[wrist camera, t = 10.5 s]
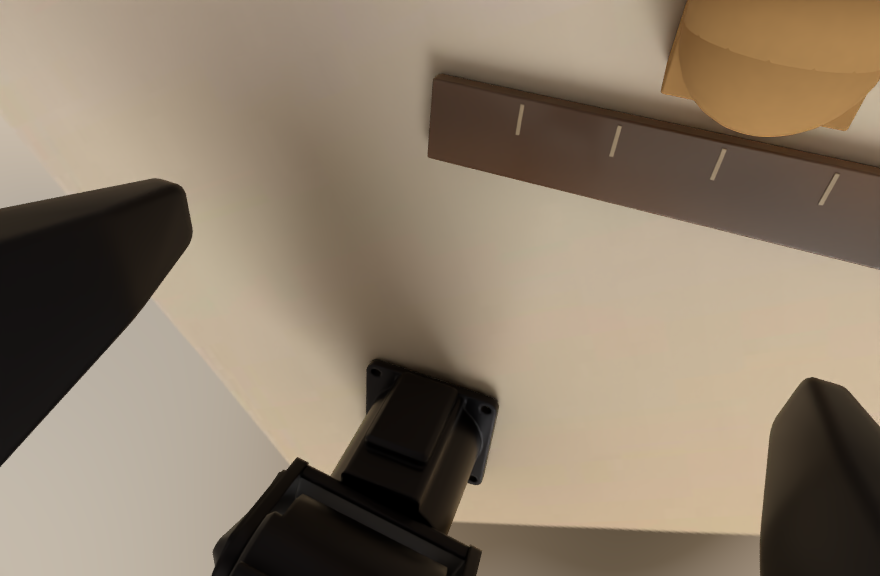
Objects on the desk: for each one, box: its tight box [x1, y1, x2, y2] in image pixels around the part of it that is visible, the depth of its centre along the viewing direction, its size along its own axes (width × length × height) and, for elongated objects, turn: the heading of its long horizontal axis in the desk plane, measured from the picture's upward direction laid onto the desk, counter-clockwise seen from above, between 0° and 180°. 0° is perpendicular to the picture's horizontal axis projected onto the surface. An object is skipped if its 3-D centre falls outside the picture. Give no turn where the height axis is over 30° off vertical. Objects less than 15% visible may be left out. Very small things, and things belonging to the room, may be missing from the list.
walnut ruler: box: [428, 74, 880, 270], centre depth 18 cm, size 3×18×1 cm, turn 85°
